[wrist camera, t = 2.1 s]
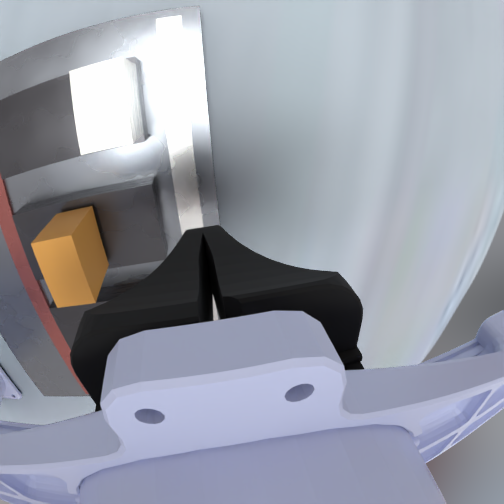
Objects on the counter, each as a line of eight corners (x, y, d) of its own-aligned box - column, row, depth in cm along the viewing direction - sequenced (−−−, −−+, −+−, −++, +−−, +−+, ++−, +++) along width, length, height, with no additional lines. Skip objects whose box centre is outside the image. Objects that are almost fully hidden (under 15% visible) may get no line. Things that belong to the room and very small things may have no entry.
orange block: (75, 270, 14) (57, 307, 12) (56, 213, 13) (30, 243, 10) (108, 264, 15) (95, 303, 12) (92, 205, 13) (71, 234, 10)
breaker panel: (46, 386, 22) (34, 436, 17) (-64, 104, 10) (-120, 120, 5) (238, 368, 24) (252, 426, 20) (198, 11, 12) (205, -27, 7)
